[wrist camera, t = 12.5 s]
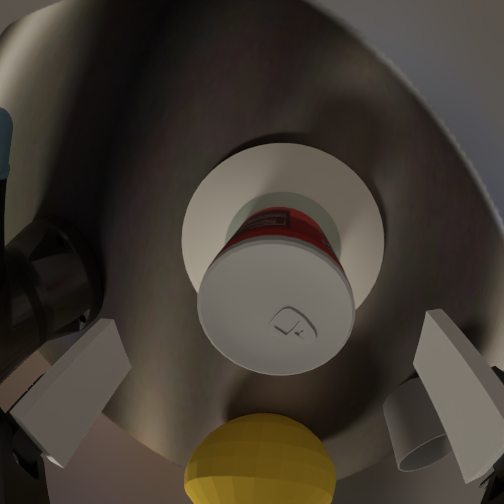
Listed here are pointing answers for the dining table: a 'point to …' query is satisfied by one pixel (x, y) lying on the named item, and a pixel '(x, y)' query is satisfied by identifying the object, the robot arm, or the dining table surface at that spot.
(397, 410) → the cup
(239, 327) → the canned food
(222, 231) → the plate
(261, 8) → the dining table surface
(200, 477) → the vase
